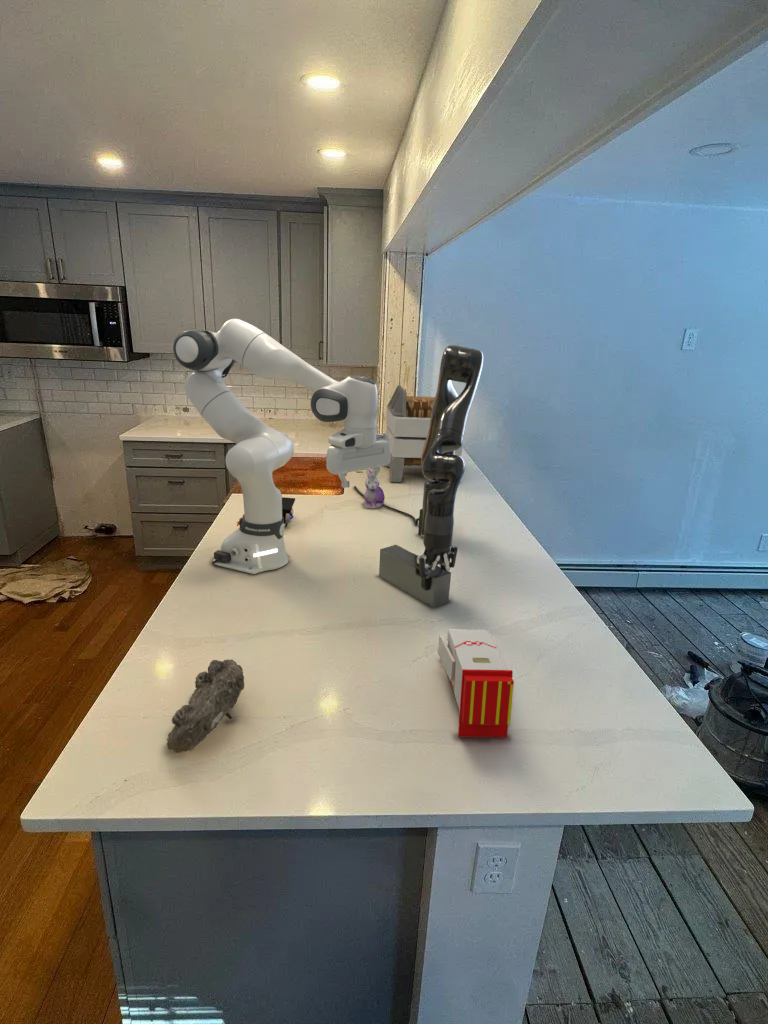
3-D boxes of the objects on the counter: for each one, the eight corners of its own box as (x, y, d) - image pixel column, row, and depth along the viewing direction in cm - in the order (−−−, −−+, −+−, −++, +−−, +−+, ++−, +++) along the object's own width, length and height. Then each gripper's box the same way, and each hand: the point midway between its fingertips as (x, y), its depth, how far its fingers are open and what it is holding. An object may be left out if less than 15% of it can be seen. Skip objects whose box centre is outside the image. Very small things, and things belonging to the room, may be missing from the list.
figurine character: (291, 533, 199) (296, 514, 213) (290, 514, 196) (295, 495, 209) (271, 532, 199) (278, 513, 213) (270, 513, 196) (277, 495, 209)
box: (448, 601, 155) (451, 572, 152) (432, 608, 151) (435, 578, 148) (394, 571, 171) (395, 544, 168) (378, 576, 168) (380, 549, 165)
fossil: (192, 660, 117) (244, 628, 112) (224, 691, 120) (276, 661, 115) (142, 746, 98) (202, 712, 93) (182, 779, 101) (242, 748, 96)
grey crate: (382, 463, 289) (386, 382, 275) (445, 464, 293) (451, 384, 279) (390, 482, 257) (394, 392, 243) (460, 483, 261) (468, 394, 247)
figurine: (368, 510, 221) (370, 473, 216) (357, 502, 229) (358, 466, 224) (390, 507, 225) (391, 471, 220) (378, 500, 233) (379, 464, 228)
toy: (488, 613, 130) (523, 677, 101) (484, 667, 133) (517, 744, 104) (435, 612, 130) (455, 676, 101) (432, 666, 133) (451, 743, 103)
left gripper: (382, 430, 164) (380, 476, 168) (323, 437, 151) (322, 487, 156) (396, 434, 159) (394, 481, 164) (337, 442, 147) (336, 493, 151)
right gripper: (447, 519, 155) (443, 574, 161) (408, 529, 146) (405, 587, 152) (468, 527, 150) (462, 584, 155) (428, 539, 141) (424, 599, 147)
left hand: (358, 484), depth 160 cm, fingers open, 8 cm apart
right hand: (434, 585), depth 154 cm, fingers closed on box, 6 cm apart
